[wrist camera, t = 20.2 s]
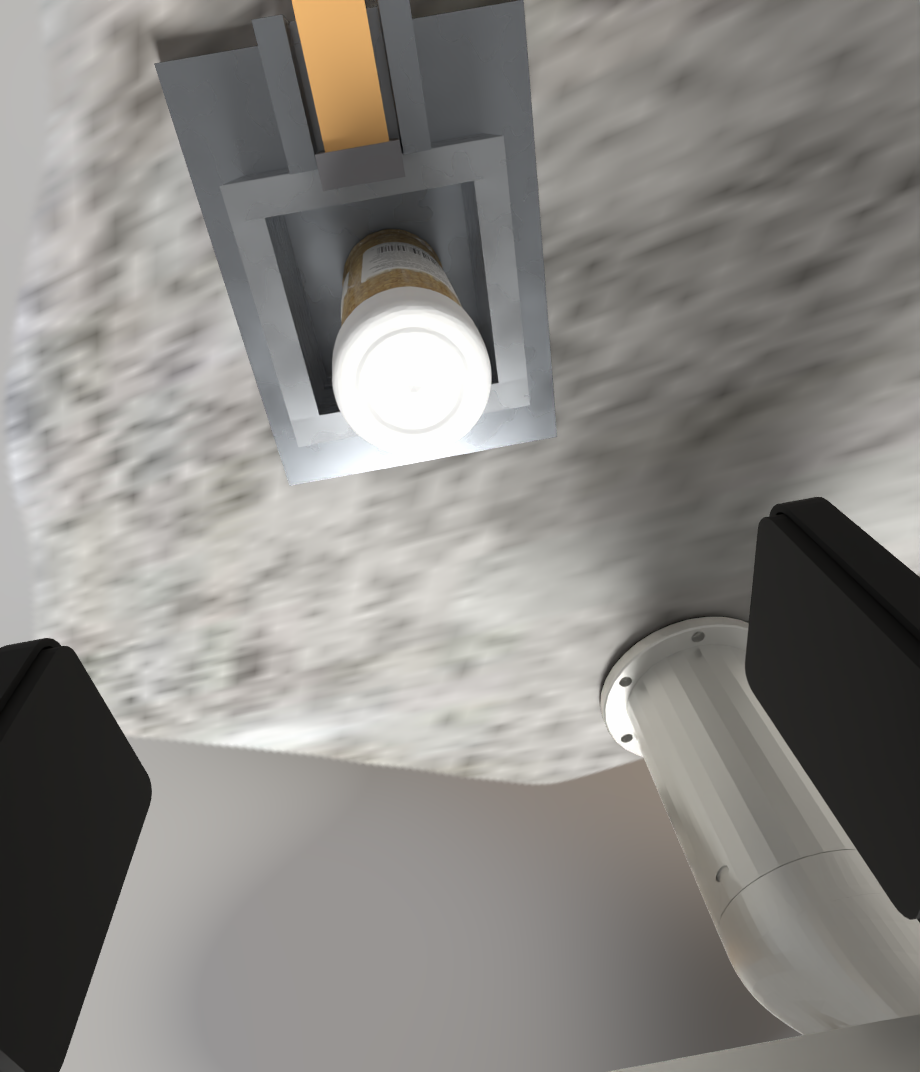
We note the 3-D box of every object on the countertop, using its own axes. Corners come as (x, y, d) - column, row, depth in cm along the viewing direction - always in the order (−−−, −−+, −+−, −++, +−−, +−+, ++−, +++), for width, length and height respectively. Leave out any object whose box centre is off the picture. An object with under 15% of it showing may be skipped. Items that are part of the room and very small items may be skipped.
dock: (552, 429, 36) (593, 499, 29) (291, 477, 36) (273, 558, 29) (518, 3, 26) (567, -35, 20) (161, 65, 26) (90, 47, 20)
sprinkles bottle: (325, 300, 30) (301, 414, 19) (374, 203, 28) (381, 267, 17) (413, 351, 32) (440, 484, 21) (465, 263, 30) (526, 357, 19)
